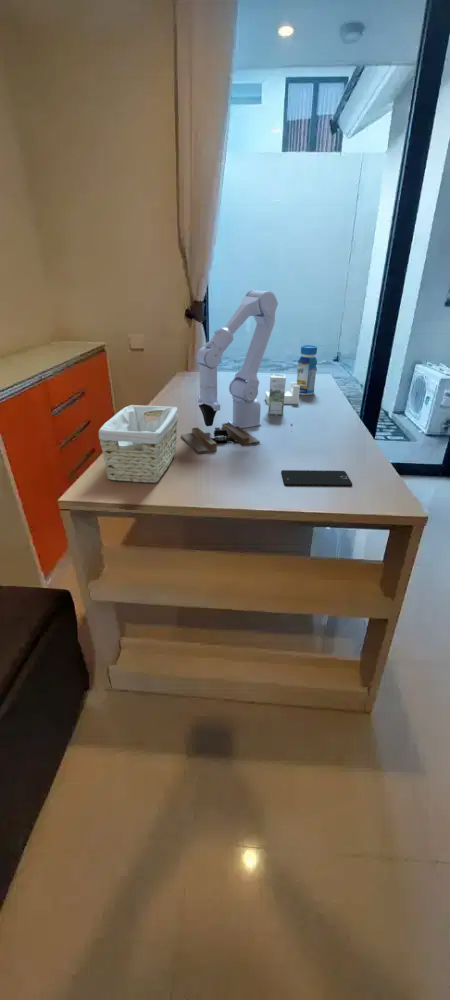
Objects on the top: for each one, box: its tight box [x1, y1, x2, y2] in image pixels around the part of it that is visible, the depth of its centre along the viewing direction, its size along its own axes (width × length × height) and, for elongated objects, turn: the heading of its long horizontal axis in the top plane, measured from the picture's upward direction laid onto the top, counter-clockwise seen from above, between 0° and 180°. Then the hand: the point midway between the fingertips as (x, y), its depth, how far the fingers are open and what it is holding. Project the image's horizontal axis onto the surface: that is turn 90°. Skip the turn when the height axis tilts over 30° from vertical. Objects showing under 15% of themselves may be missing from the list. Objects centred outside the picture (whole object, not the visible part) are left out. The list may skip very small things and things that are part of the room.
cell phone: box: [280, 469, 353, 488], centre depth 119 cm, size 9×18×1 cm, turn 90°
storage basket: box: [98, 404, 179, 484], centre depth 122 cm, size 24×16×15 cm
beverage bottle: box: [296, 344, 318, 396], centre depth 191 cm, size 8×8×20 cm
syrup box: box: [267, 373, 287, 416], centre depth 167 cm, size 6×6×14 cm
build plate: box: [210, 427, 237, 445], centre depth 143 cm, size 12×7×5 cm, turn 96°
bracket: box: [264, 381, 300, 405], centre depth 183 cm, size 13×7×8 cm, turn 92°
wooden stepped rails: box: [180, 422, 261, 455], centre depth 143 cm, size 21×16×2 cm
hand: (208, 425), depth 150 cm, fingers closed
